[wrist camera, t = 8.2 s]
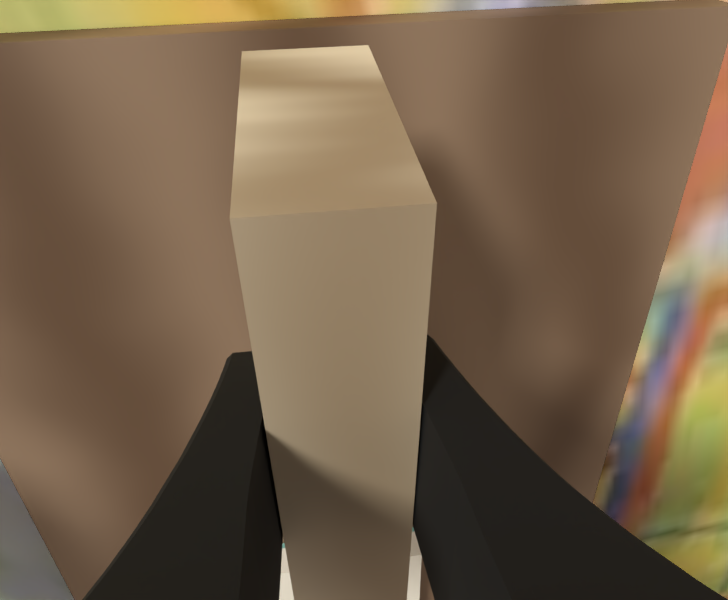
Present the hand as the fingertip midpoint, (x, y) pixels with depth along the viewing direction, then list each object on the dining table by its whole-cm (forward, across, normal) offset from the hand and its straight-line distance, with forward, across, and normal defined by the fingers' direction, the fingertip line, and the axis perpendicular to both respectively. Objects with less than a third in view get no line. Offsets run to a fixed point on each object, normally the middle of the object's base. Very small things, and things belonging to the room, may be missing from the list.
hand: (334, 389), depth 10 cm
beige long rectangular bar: (+3, 0, +1) cm, 3 cm away
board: (+7, 0, +10) cm, 12 cm away
